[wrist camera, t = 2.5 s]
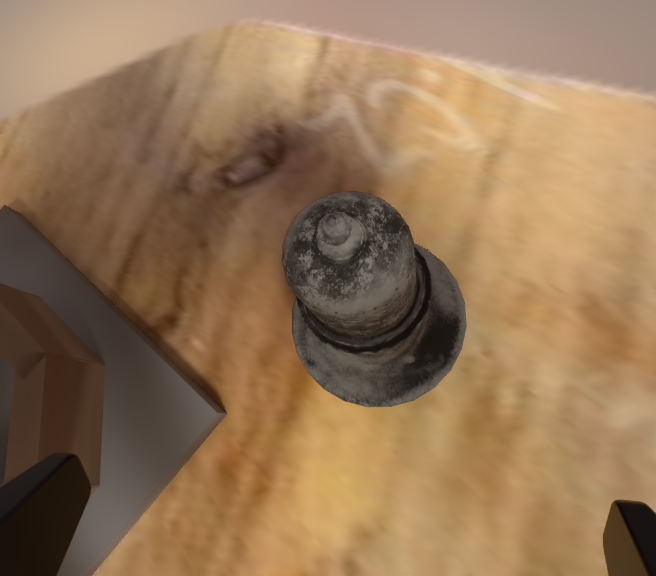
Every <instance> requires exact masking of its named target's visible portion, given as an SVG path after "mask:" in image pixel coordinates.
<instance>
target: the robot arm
mask: <svg viewBox="0 0 656 576" xmlns="http://www.w3.org/2000/svg"><path fill="white" fill-rule="evenodd" d="M90 494H91V482H90V480H89V478H88V475H87V473H86V471H85V469H84V467H83V465H82V462H81V460H80V458H79V457H78V456H77V455H76V454H73V453H61V452H57V453H53V454H50V455H49V456H47V457H45V458H44V459H42V460H41V461H39V462H38V463H36V464H35V465H33V466H32V467H30V468H29V469H27V470H25V471H24V472H22V473H21V474H19V475H18V476H16V477H15V478H13V479H12V480H10V481H9V482H7V483H5V484H4V485H2V486H1V487H0V576H57V574H58V572H59V570H60V568H61V565H62V563H63V561H64V558H65V556H66V553H67V551H68V549H69V546H70V544H71V541H72V539H73V537H74V534H75V532H76V529H77V527H78V524H79V522H80V520H81V517H82V515H83V512H84V510H85V508H86V505H87V503H88V500H89V498H90ZM603 548H604V554H605V559H606V564H607V570H608V575H609V576H656V513H655V512H654V511H653V510H652V509H651V508H650V507H649V506H648V505H647V504H645V503H643V502H640V501H629V500H615V501H614V502H613V503H612V505H611V508H610V512H609V515H608V519H607V522H606V526H605V529H604V533H603Z"/></svg>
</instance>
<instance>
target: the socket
mask: <svg viewBox="0 0 656 576" xmlns="http://www.w3.org/2000/svg"><path fill="white" fill-rule="evenodd" d="M226 414H227V413H226V412H225V411H223V410H222V409H221V408H220V407H219V406H218V405H217V404H216V403H215V402H214V401H213V400H212V399H211V398H210V397H209V396H208V395H207V394H206V393H205V392H204V391H203V390H202V389H201V388H200V387H199V386H198V385H197V384H196V383H195V382H194V381H193V380H192V379H191V378H189V377H188V376H187V375H186V374H185V373H184V372H183V371H182V370H181V369H180V368H179V367H178V366H177V365H176V364H175V363H174V362H173V361H172V360H171V359H170V358H169V357H168V356H167V355H166V354H165V353H164V352H163V351H162V350H161V349H160V348H159V347H158V346H157V345H155V344H154V343H153V342H152V341H151V340H150V339H149V338H148V337H147V336H146V335H145V334H144V333H143V332H142V331H141V330H140V329H139V328H138V327H137V326H136V325H135V324H134V323H133V322H132V321H131V320H130V319H129V318H128V317H127V316H126V315H125V314H124V313H122V312H121V311H120V310H119V309H118V308H117V307H116V306H115V305H114V304H113V303H112V302H111V301H110V300H109V299H108V298H107V297H106V296H105V295H104V294H103V293H102V292H101V291H100V290H99V289H98V288H97V287H96V286H95V285H94V284H93V283H92V282H91V281H90V280H88V279H87V278H86V277H85V276H84V275H83V274H82V273H81V272H80V271H79V270H78V269H77V268H76V267H75V266H74V265H73V264H72V263H71V262H70V261H69V260H68V259H67V258H66V257H65V256H64V255H63V254H62V253H61V252H60V251H59V250H58V249H57V248H55V247H54V246H53V245H52V244H51V243H50V242H49V241H48V240H47V239H46V238H45V237H44V236H43V235H42V234H41V233H40V232H39V231H38V230H37V229H36V228H35V227H34V226H33V225H32V224H31V223H30V222H29V221H28V220H27V219H26V218H25V217H24V216H23V215H21V214H20V213H19V212H17V211H15V210H13V209H11V208H9V207H7V206H6V205H4V206H3V207H2V209H1V210H0V487H1V486H2V485H4V484H5V483H7V482H9V481H10V480H12V479H13V478H15V477H16V476H18V475H19V474H21V473H22V472H24V471H25V470H27V469H29V468H30V467H32V466H33V465H35V464H36V463H38V462H39V461H41V460H42V459H44V458H45V457H47V456H49V455H50V454H53V453H57V452H61V453H73V454H76V455H77V456H78V457H79V458H80V460H81V462H82V465H83V467H84V469H85V471H86V473H87V475H88V478H89V480H90V482H91V494H90V498H89V500H88V503H87V505H86V508H85V510H84V512H83V515H82V517H81V520H80V522H79V524H78V527H77V529H76V532H75V534H74V537H73V539H72V541H71V544H70V546H69V549H68V551H67V553H66V556H65V558H64V561H63V563H62V565H61V568H60V570H59V572H58V574H57V576H91V575H92V574H93V573H94V572H95V571H96V569H97V568H98V567H99V566H100V565H101V564H102V562H103V561H104V560H105V559H106V558H107V556H108V555H109V554H110V553H111V552H112V550H113V549H114V548H115V547H116V546H117V544H118V543H119V542H120V541H121V540H122V538H123V537H124V536H125V535H126V534H127V532H128V531H129V530H130V529H131V528H132V526H133V525H134V524H135V523H136V522H137V521H138V519H139V518H140V517H141V516H142V515H143V513H144V512H145V511H146V510H147V509H148V507H149V506H150V505H151V504H152V503H153V501H154V500H155V499H156V498H157V497H158V495H159V494H160V493H161V492H162V491H163V489H164V488H165V487H166V486H167V485H168V483H169V482H170V481H171V480H172V479H173V478H174V476H175V475H176V474H177V473H178V472H179V470H180V469H181V468H182V467H183V466H184V464H185V463H186V462H187V461H188V460H189V458H190V457H191V456H192V455H193V454H194V452H195V451H196V450H197V449H198V448H199V446H200V445H201V444H202V443H203V442H204V440H205V439H206V438H207V437H208V436H209V435H210V433H211V432H212V431H213V430H214V429H215V427H216V426H217V425H218V424H219V423H220V421H221V420H222V419H223V418H224V417H225V415H226Z"/></svg>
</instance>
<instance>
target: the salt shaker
mask: <svg viewBox="0 0 656 576" xmlns="http://www.w3.org/2000/svg"><path fill="white" fill-rule="evenodd" d="M282 263H283V268H284V272H285V275H286V279H287V282H288V284H289V285H290V287H291V289H292V290H293V292H294V294H295V295H296V299H295V303H294V307H293V310H292V334H293V338H294V342H295V346H296V350H297V354H298V356H299V357H300V359H301V361H302V363H303V365H304V366H305V368H306V370H307V372H308V373H309V374H310V375H311V376H312V377H313V378H314V379H315V381H316V382H317V383H318V384H319V385H320V386H321V387H322V388H323V389H325V390H326V391H328V392H330V393H331V394H333V395H335V396H337V397H338V398H340V399H342V400H343V401H346V402H350V403H354V404H358V405H361V406H365V407H392V406H395V405H399V404H402V403H406V402H409V401H413V400H415V399H417V398H418V397H420V396H422V395H423V394H425V393H427V392H428V391H430V390H431V389H433V388H435V387H436V386H437V384H438V383H439V382H440V381H441V380H442V379H443V378H444V377H445V376H446V375H447V374H448V373H449V372H450V371H451V369H452V367H453V365H454V363H455V361H456V359H457V357H458V355H459V353H460V351H461V349H462V345H463V340H464V336H465V331H466V313H465V302H464V299H463V297H462V294H461V291H460V288H459V286H458V283H457V281H456V279H455V278H454V277H453V275H452V274H451V272H450V271H449V270H448V268H447V267H446V265H445V264H444V263H443V262H442V261H441V260H439V259H438V258H437V257H436V256H435V255H433V254H432V253H431V252H430V251H428V250H427V249H425V248H423V247H421V246H419V245H417V244H415V243H414V241H413V238H412V235H411V232H410V230H409V227H408V225H407V224H406V222H405V221H404V219H403V218H402V217H401V215H400V214H399V213H398V211H397V210H396V209H395V208H393V207H392V206H391V205H390V204H388V203H387V202H386V201H385V200H383V199H381V198H378V197H376V196H374V195H371V194H369V193H362V192H355V191H349V192H337V193H334V194H331V195H328V196H325V197H322V198H320V199H318V200H316V201H315V202H313V203H311V204H310V205H308V206H307V207H306V208H305V209H304V210H303V211H302V212H301V213H300V214H299V215H298V216H297V217H296V218H295V219H294V221H293V222H292V224H291V226H290V227H289V229H288V231H287V233H286V237H285V240H284V243H283V253H282Z"/></svg>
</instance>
